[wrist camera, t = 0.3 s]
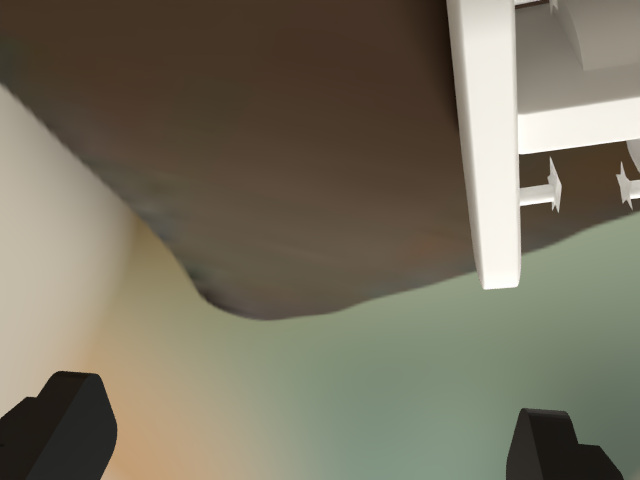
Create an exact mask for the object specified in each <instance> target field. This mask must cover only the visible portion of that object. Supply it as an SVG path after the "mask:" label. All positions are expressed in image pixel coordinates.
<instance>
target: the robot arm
mask: <svg viewBox="0 0 640 480" xmlns="http://www.w3.org/2000/svg"><path fill="white" fill-rule="evenodd" d="M116 440H117V423H116V419H115V416H114V414H113V411H112V408H111V405H110V402H109V399H108V397H107V393H106V390H105V388H104V385H103V382H102V379H101V378H100V376H99V375H98V374H94V373H81V372H68V371H58V372H56V373H54V374H53V375H52V376H51V377H50V378H49V380H48V381H47V383H46V384H45V386H44V388H43V389H42V390H41V392H40V393H39V395H38V396H37V397H26V398H25V399H23V400H22V401H21V402H20V403H19V404H17V405H16V406H15V407H14V408H12V409H11V410H10V411H9V412H8V413H6V414H5V415H4V416H3V417H1V419H0V480H100V479H101V477H102V475H103V473H104V470H105V469H106V467H107V465H108V462H109V460H110V458H111V456H112V454H113V451H114V448H115V445H116ZM506 480H624V479H623V476H622V474H621V472H620V471H619V470H618V469H617V467H616V466H615V465H614V464H613V462H612V461H611V460H610V459H609V457H608V456H607V455H606V454H605V452H604V451H603V450H602V449H601V447H600V446H595V445H584V444H578V441H577V438H576V434H575V431H574V428H573V424H572V421H571V419H570V417H569V415H568V413H567V412H565V411H555V410H541V409H528V408H522V409H521V411H520V413H519V416H518V420H517V424H516V428H515V431H514V435H513V439H512V443H511V446H510V450H509V454H508V457H507V465H506Z"/></svg>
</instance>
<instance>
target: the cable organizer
mask: <svg viewBox="0 0 640 480" xmlns="http://www.w3.org/2000/svg"><path fill="white" fill-rule="evenodd" d="M533 1H538V0H446V2H447V12H448V22H449V32H450V42H451V52H452V62H453V72H454V82H455V92H456V102H457V112H458V122H459V132H460V142H461V151H462V159H463V168H464V176H465V184H466V193H467V201H468V209H469V218H470V226H471V234H472V243H473V250H474V257H475V263H476V268H477V273H478V276H479V280H480V283H481V285H482V287H483V288H484V289H496V288H509V287H517V286H518V283H519V279H520V272H521V235H520V206H521V205H529V204H536V203H544V202H551V201H552V211H553V208H554V205H556V208H557V210H558V213H559V204H560V195H561V183H560V181H559V178H558V176H557V173H556V170H555V168H554V165H553V163H552V160H551V157H550V176H549V177H548V181H549V185H542V186H534V187H527V188H520V189H519V154H528V153H535V152H543V151H550V150H558V149H565V148H573V147H580V146H588V145H595V144H602V143H610V142H617V141H625V140H626V142H627V147H628V150H629V153H630V155H631V158H632V159H633V161H634V163H635V165H636V167H637V169H638V171H639V173H640V0H558V1H557V0H549V3H546V4H541V5H536V6H531V7H526V8H521V9H516V10H515V5H518V4H523V3H528V2H533ZM616 176H617V179H618V182H619V185H620V188H621V196H622V203H624V201H625V200H626V199H627V201H628V203H629V205H630V206H631V208H632V204H631V199H633V198H640V180H635V181H629V180H628V179H627V178H626V176H625V173H624V169H623V165H622V162H621V175H616ZM632 210H633V209H632Z"/></svg>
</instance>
